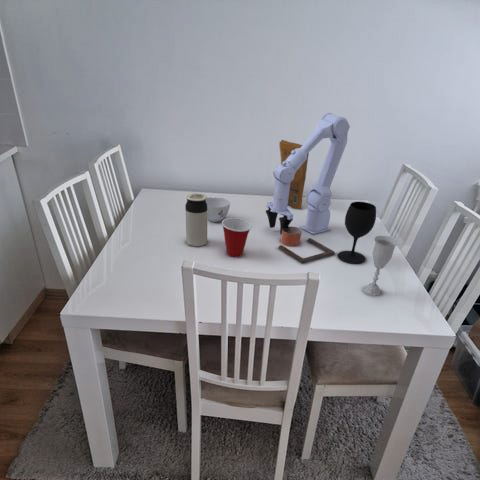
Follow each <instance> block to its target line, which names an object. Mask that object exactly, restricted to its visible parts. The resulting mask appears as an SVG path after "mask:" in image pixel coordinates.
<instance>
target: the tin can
mask: <svg viewBox="0 0 480 480" xmlns="http://www.w3.org/2000/svg"><path fill="white" fill-rule="evenodd" d="M301 237H302V228H299V227H296V226H293V225H292V226H290V225H289V226H288V227H284V228H283V229H282V234H281V238H280V243H281V245H283V246H287V247H297V246H299V245H300V244H301Z"/></svg>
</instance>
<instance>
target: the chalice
mask: <svg viewBox="0 0 480 480" xmlns="http://www.w3.org/2000/svg"><path fill="white" fill-rule="evenodd" d="M398 243H399V242H398V241H397V240H396V239H395V238H393V237H392V236H388V235H377V236H375V237H374V246H373V250H372V261H373V266H374V268H376V270H375V271H374V276H373V277H372V280H373V281H372V282H370V283H368V284H367V286H366V287H365V288H364V289H363V290H364V292H365V293H366V294H367V295H370V296H379V295H381V291H380V286H379V284H377V282H378V280H379V275H380V271H381V270H383V269H384V268H385V267H386V266H387V265H388V264H389V262H390V261H391V259H392V258H393V254H394V251H395V249H396V246H397V245H398Z"/></svg>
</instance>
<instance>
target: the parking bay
mask: <svg viewBox="0 0 480 480" xmlns="http://www.w3.org/2000/svg"><path fill="white" fill-rule="evenodd" d="M306 241H307V242H308V243H309V244H311V245H313V246H314V247H316V248H318V249H320V250H321V251H323V252H321V253H318V254H314V255H310V256H306V257H301V256H300V255H299V254H296V253H295V252H294V251H292V250H291V249H289V248H287V247H286V246H285V245H283V244H280V245H278V250H279V251H280V252H281V251H282V253H284V254H286V255H287V256H289V257H290V258H291V259H293V260H295V261H297V262H298V263H300V264H302V265H303V264H306V263H310V262H314V261H316V260H321V259H323V258H328V257H332V256H333V255H334V256H335V253H336V252H335V251H334V250H332V249H331V248H329V247H327V246H325V245H324V244H322V243H320V242H318V241H316V240H315V239H313V238H311V237H309V238H307V239H306Z"/></svg>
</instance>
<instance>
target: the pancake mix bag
mask: <svg viewBox="0 0 480 480" xmlns="http://www.w3.org/2000/svg"><path fill="white" fill-rule="evenodd" d="M278 145H279V153H280V164H282V163H283V161H285V160H286V159H287V158H288V157H289V156H290V154H291V151H292V150H295V149H296V148H301V146H302V145H303V144H300V143H296V142H292V141H287V140H285V139H281V140H280V141H279V143H278ZM309 155H310V152H309V153H308V154H307V159H306V161H305V162H304V163H303V164H302V165H301V166H300V167H299V169H298V170H297V171H296V173H295V176H294V179H293V180H292V181H291V182H290V189H289V197H288V206H289V207H291V208H293V209H297V210H302V205H303V195H304V189H305V185H306V184H305V183H306V179H307V171H308V163H309Z"/></svg>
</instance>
